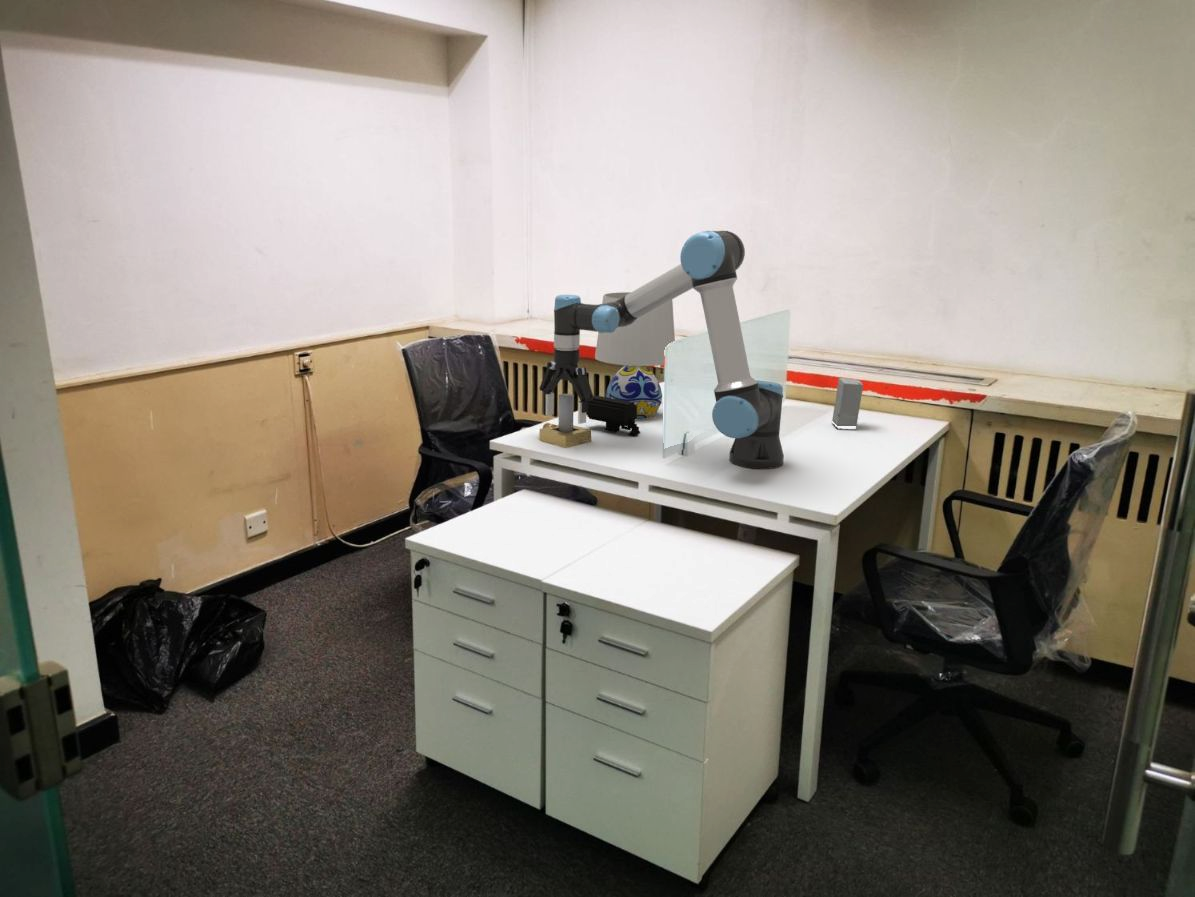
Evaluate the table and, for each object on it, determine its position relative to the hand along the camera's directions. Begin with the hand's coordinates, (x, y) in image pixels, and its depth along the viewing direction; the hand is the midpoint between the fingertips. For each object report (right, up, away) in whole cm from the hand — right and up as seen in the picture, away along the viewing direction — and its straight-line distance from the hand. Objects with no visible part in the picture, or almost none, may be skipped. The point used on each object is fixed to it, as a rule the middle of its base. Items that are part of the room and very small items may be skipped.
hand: (565, 419), depth 269 cm
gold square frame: (-1, -6, +3) cm, 7 cm away
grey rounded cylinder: (0, -7, +2) cm, 7 cm away
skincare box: (+91, -2, +27) cm, 95 cm away
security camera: (+15, -4, +14) cm, 21 cm away
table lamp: (+22, +2, +36) cm, 42 cm away
